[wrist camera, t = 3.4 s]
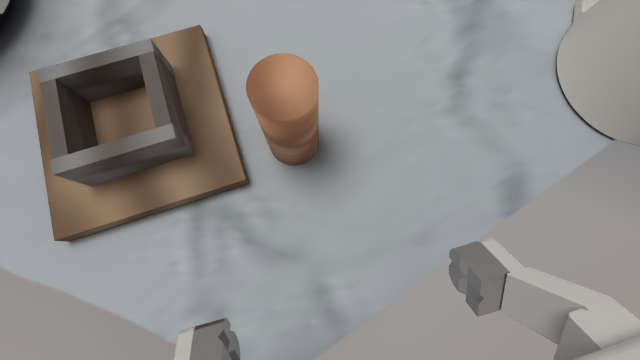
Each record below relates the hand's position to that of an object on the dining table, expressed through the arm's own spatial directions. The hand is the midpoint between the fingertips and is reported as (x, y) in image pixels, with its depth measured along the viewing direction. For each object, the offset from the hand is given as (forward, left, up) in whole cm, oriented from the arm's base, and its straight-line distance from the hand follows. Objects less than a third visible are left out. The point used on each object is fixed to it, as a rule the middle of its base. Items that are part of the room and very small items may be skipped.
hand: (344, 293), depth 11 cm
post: (-1, -12, -16) cm, 20 cm away
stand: (+12, -17, -16) cm, 27 cm away
